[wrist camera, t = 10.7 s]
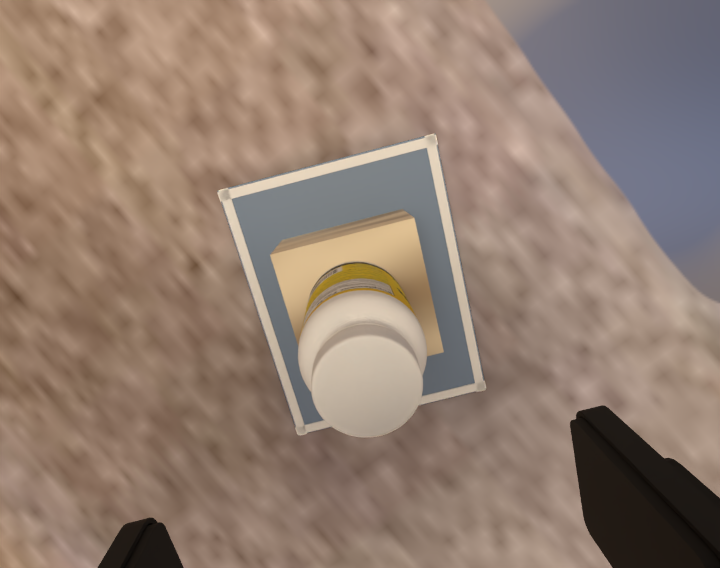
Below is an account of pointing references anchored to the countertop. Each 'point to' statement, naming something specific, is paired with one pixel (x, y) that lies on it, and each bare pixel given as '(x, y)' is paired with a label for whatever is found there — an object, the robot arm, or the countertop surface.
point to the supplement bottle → (362, 350)
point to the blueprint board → (344, 205)
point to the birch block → (358, 243)
